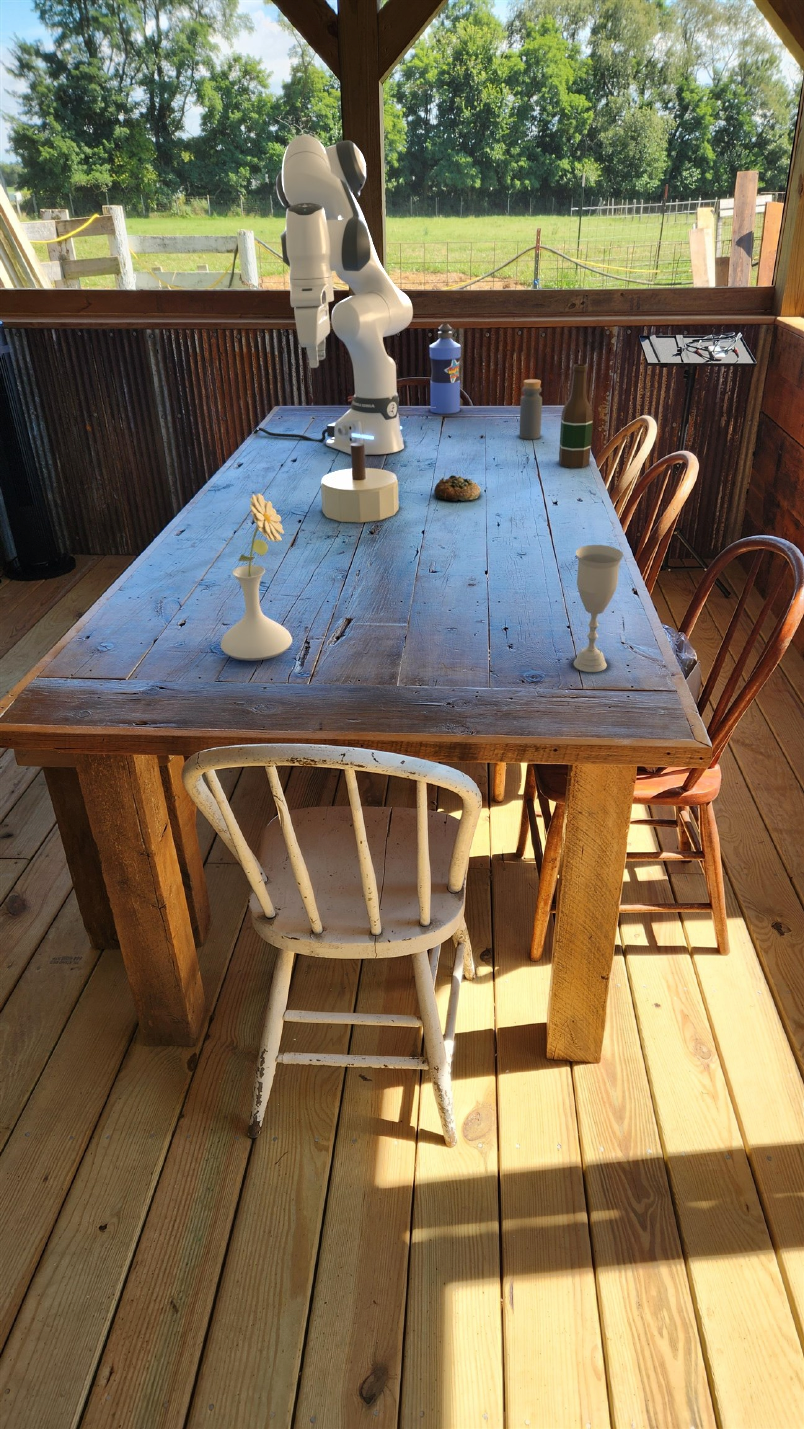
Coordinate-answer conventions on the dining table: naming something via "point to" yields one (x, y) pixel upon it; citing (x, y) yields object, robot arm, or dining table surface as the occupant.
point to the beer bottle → (576, 423)
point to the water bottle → (445, 373)
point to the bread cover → (359, 491)
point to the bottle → (530, 410)
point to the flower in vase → (256, 597)
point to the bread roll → (456, 489)
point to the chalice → (596, 595)
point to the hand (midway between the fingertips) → (317, 363)
